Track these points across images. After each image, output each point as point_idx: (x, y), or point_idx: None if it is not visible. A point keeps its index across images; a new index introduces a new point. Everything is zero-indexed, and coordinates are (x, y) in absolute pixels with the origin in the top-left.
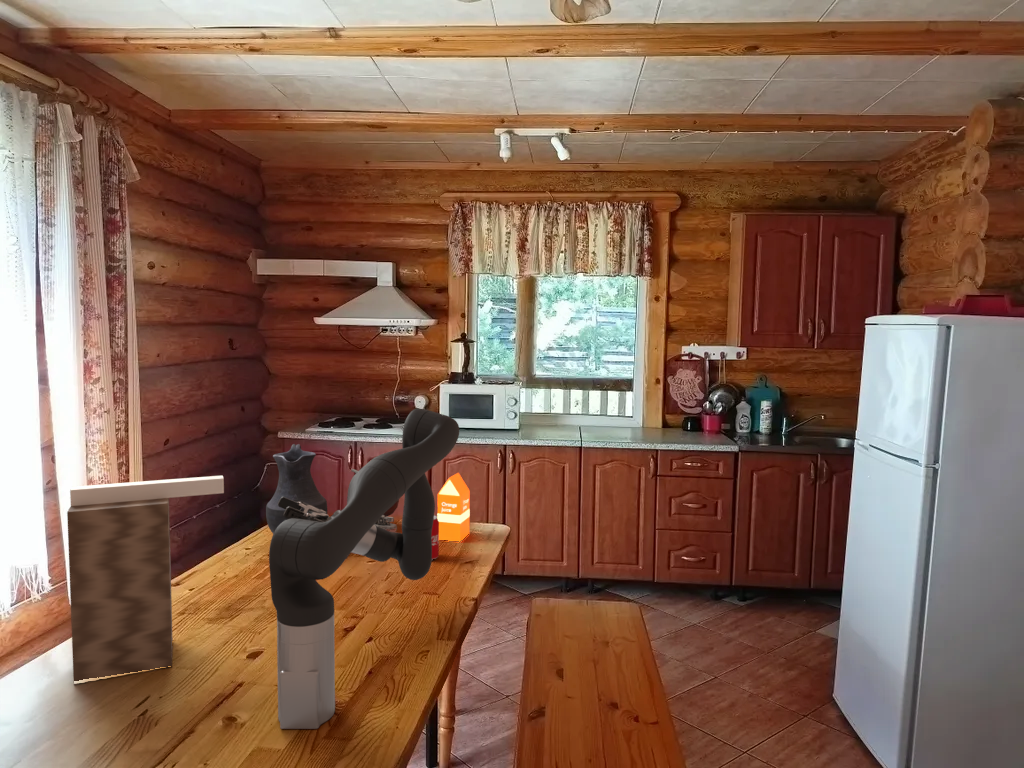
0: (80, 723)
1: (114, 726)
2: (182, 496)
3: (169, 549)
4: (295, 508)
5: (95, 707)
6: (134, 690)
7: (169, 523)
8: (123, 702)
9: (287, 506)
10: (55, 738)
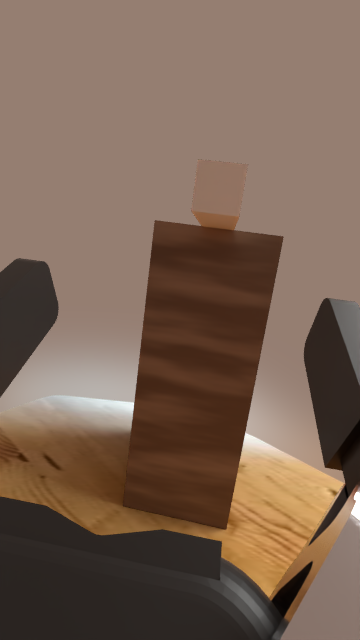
0: (62, 423)
1: (23, 436)
2: (200, 223)
3: (186, 332)
4: (353, 455)
5: (83, 434)
6: (90, 462)
7: (268, 311)
8: (70, 450)
9: (323, 387)
10: (53, 411)
